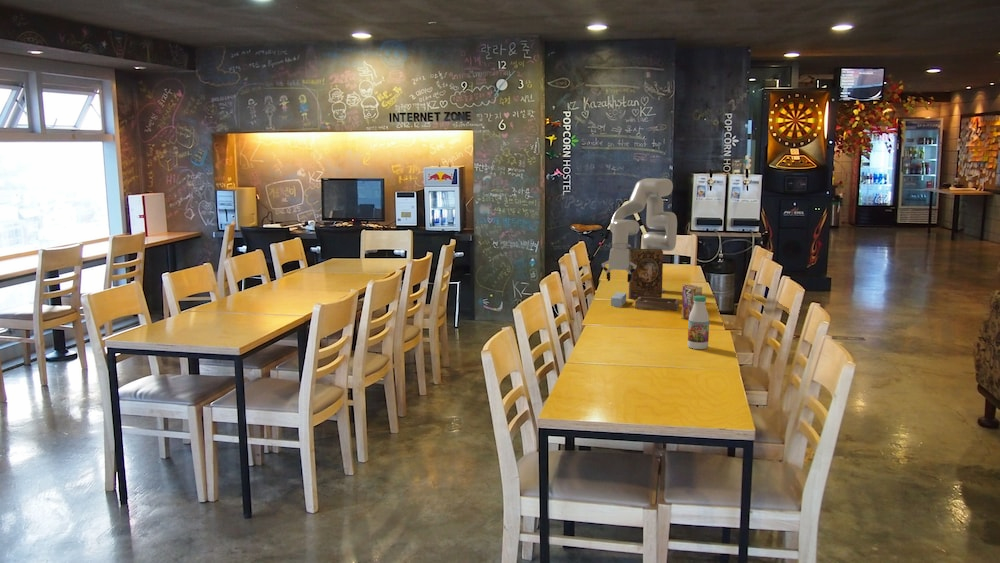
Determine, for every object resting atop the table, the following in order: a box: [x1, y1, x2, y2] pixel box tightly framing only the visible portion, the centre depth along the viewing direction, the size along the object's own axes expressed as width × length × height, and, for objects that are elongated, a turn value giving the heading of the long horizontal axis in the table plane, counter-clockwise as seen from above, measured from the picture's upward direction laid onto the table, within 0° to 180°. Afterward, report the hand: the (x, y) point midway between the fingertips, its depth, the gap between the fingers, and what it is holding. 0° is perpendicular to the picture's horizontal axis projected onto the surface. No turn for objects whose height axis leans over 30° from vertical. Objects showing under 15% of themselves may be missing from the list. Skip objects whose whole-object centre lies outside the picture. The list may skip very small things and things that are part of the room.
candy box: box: [681, 283, 703, 321], centre depth 353 cm, size 9×4×15 cm, turn 26°
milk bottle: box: [687, 295, 710, 350], centre depth 303 cm, size 8×8×20 cm
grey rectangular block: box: [610, 292, 627, 308], centre depth 389 cm, size 15×5×4 cm, turn 162°
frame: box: [634, 297, 680, 312], centre depth 380 cm, size 12×19×4 cm, turn 73°
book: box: [628, 248, 664, 300], centre depth 401 cm, size 16×6×25 cm, turn 84°
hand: (618, 281), depth 387 cm, fingers open, 9 cm apart
